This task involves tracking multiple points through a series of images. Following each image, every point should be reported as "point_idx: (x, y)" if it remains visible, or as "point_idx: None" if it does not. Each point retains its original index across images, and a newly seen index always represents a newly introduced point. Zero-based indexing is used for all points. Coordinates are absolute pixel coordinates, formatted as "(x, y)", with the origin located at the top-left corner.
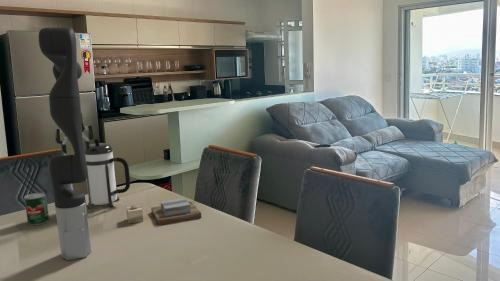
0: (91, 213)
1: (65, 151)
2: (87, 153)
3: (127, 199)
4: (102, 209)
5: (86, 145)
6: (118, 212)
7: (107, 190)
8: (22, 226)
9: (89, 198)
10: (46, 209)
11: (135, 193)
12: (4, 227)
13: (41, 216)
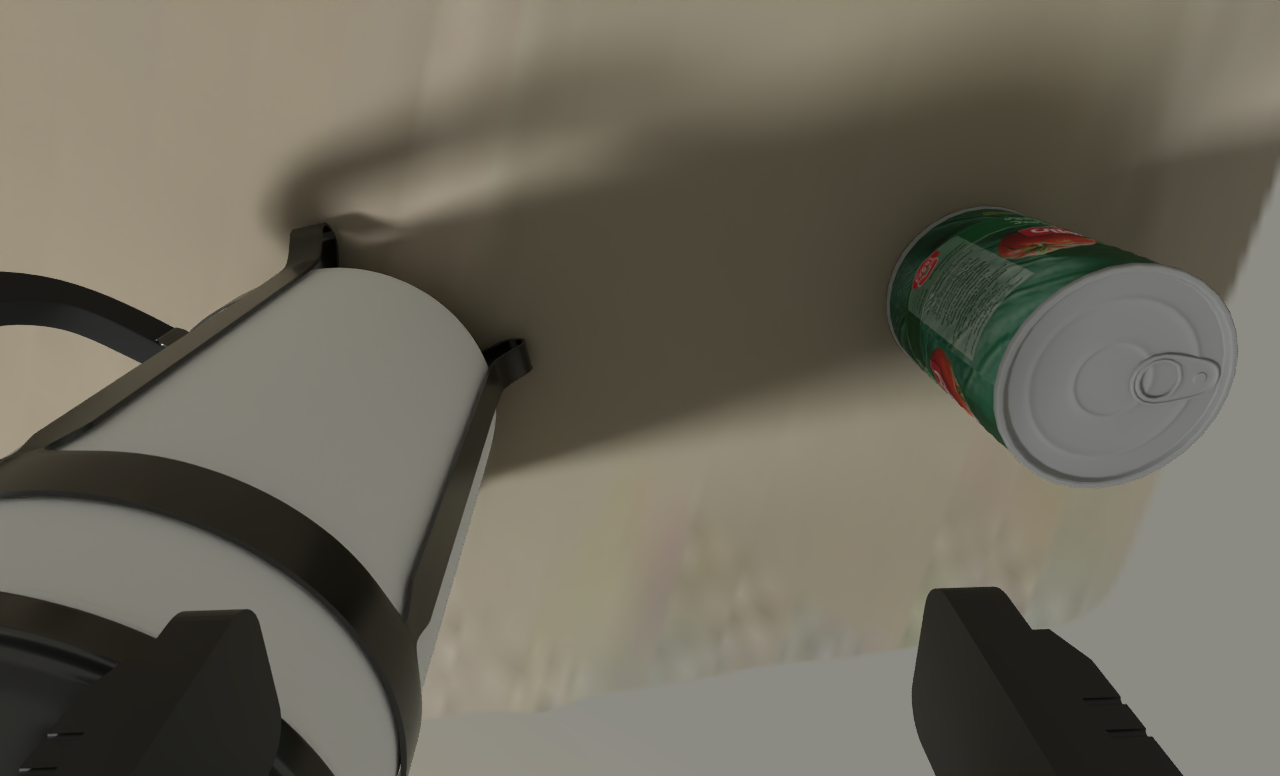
0: (532, 187)
1: (1004, 620)
2: None
3: None
4: (412, 234)
5: (140, 747)
6: (281, 13)
7: (271, 302)
8: None
9: (491, 388)
10: (959, 268)
11: None
12: None
13: (1001, 221)
